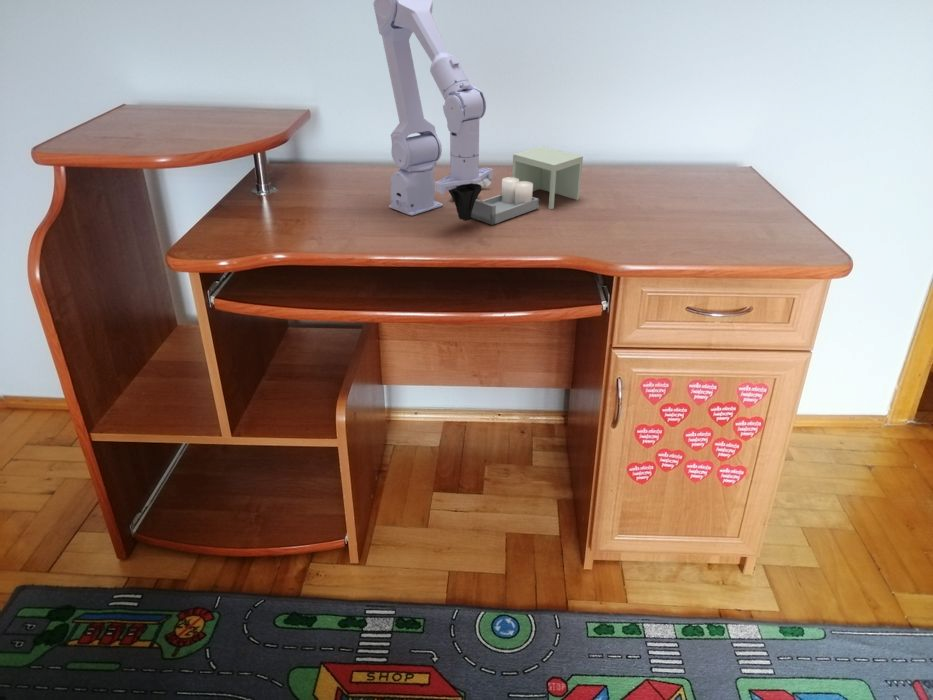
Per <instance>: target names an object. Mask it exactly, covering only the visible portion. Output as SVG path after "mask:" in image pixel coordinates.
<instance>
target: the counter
mask: <svg viewBox="0 0 933 700" xmlns="http://www.w3.org/2000/svg"><path fill="white" fill-rule="evenodd" d="M583 158H584V156H583V155H579V154H576V153H572V152H571V153H570V152H566V151H562V150H559V149H554V148H552V147H546V146H543V145H541V146H538V147H537V146H536V147H534V148H531V149H527V150H523V151H520V152H516V153H513V155H512V171H511V172H512V174H511V177H514V178H518V179H519V181H528V182H531V183H533V192H535V191H537V190H542V191H546V192H549V199H548V209H549V210H553V209H554V210H555V197H556V196H555V195H559V196H562V197H566V198H569V199H571V200H574V201H575V200H576V201H578V200H580V194H581V185H582V184H581V182H582V171H583Z"/></svg>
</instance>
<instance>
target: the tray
mask: <svg viewBox="0 0 933 700" xmlns="http://www.w3.org/2000/svg"><path fill="white" fill-rule="evenodd" d="M533 192H534V191H533V183H531V182H528V181H519V179H518V178H514V177H512V176H509V177H508V176H507V177H503V178H502V179H501V194H497V195H495V196H492V197H489V198H486V199H483V200H481V199H478V198H477V199H476V201H475V203H474V206H473V210H472V213H471V217H470V219H471V218H472V219H475V220H477V221H479V222H480V221H481V222H483V223H486V224H489V225H492V226H493V225H496V224H498V223H501V222H504V221H506V220H509V219H513V218H515V217H518V216H521V215H523V214H526V213H529V212H531V211H534V210H537V209H539V208H540V198H538V197H534V196H533Z"/></svg>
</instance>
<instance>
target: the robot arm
mask: <svg viewBox="0 0 933 700" xmlns="http://www.w3.org/2000/svg"><path fill="white" fill-rule="evenodd" d="M372 4H373V10H374V13H375V18H376V24H377V28H378V33H379V35H381V37H382V42H383V49H384V53H385V57H386V58H385V59H386V62H387V69H388V72H389V73H388V74H389V77H390V78H389V79H390V81H391V87H392V91H393V92H392V93H393V97H394V102H395V106H396V111H397V116H398V121H399V123H398V124H397V126H396V127H395V128H394V130H392V132H391V133H390V139H391V151H390V152H391V158H392V161H393V163H395V165H396V166H397V168H398V171H396V172H394V173H392V174H391V176H390V179H389V188H390V189H389V191H390V204H389V205H388V207H389V208H390V209H393V210H396V211H397V212H398V211H399V212H401V213H403V214H405V215H407V216H415V215H419V214H423V213H426V212H428V211H431V210H435V209H437V208H441V207H443V206H444V204H443V203H442V202H439V201H437V200H435V193H438V194H440V195H442V194H445V193H446V192H447V191H448V193H449V194H450V196H451V198H452V200H453V202H454V204H455V208H456V211H457V215H458V216H457V217H458V219H459V220H461V221H465V222H466V221H469V220H471V213H472V210H473V206H474V203H475V201H476V199H478V197H479V194H480V193H481V192H482V186H481V185H479V184H477V183H480V182H481V180H484V179H492V180H493V178H494V177H493V175H494V172H493V171H494V170H493V168H489V167H481V168H480V119H482V118H483V117H484V116H485V114H486V109H487V101H486V98H485V95H484V93H483V91H482V89H480V88H478V87H476V86H475V85H474V84H473V83H471V82H470V81H469V79H468V77H467V75H466V73H465V71H464V69H463V67H462V65H461V64H460V61H459V60H458V57H456V55H454V54H450V53H449V52H448V51H447V48H446V46H445V44H444V42H443V39H442V36H441V35H440V31H439V29H438V27H437V24H436V22H435V20H434V18H433V16H432V13H433V0H374V1H373V3H372ZM412 34H414V35H415V37H416V38H417V40H418V42H419V44H420V45H421V47H422V49H423V50H424V52H425V53H426V55H427V56H428V58H429V60H430V62H431V65H430V67H429V71H430V74H431V76H432V78H433V80H434V82H435V84H436V86H437V88H438V89H439V92H440V94H441V96H442V99H444V104H442V110H443V113H444V116H445V119H446V122H447V123H446V124H447V130H448V131H449V142H450V143H449V147H450V149H449V151H450V153H449V155H450V156H449V157H450V159H449V160H450V163H449V164H450V167H449V168H450V169H449V170H450V172H449V173H450V174H448V175H446V176H444V177H443V178H441V179H440V180H438V181H435V168H434V167H437V162H438V161H439V160H440V158H441V157H442V149H443V148H442V142H441V141H440V138H439V137H438V134H437V130H436V126H435V125H434V124H432V123H431V122H429V121H428V120H426V118H425V116H424V112H423V107H422V101H421V96H420V91H419V90H420V89H419V86H418V79H417V76H416V69H415V66H414V61H413V60H414V59H413V55H412V48H411V44H410V39H411V36H412ZM413 134H414V135H413ZM415 134H417V135H415ZM418 134H419V135H418ZM410 135H413V136H410Z"/></svg>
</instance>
